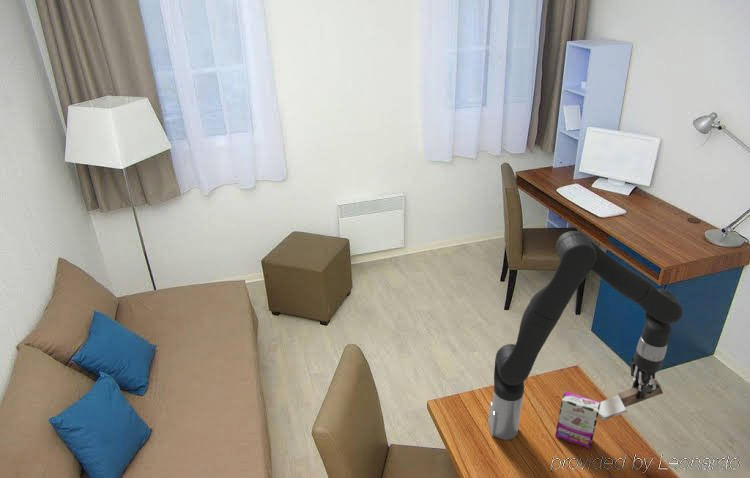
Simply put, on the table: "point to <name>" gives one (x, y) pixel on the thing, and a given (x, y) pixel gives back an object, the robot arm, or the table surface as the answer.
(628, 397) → the turner
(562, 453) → the table surface
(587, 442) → the candy bar box
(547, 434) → the table surface
